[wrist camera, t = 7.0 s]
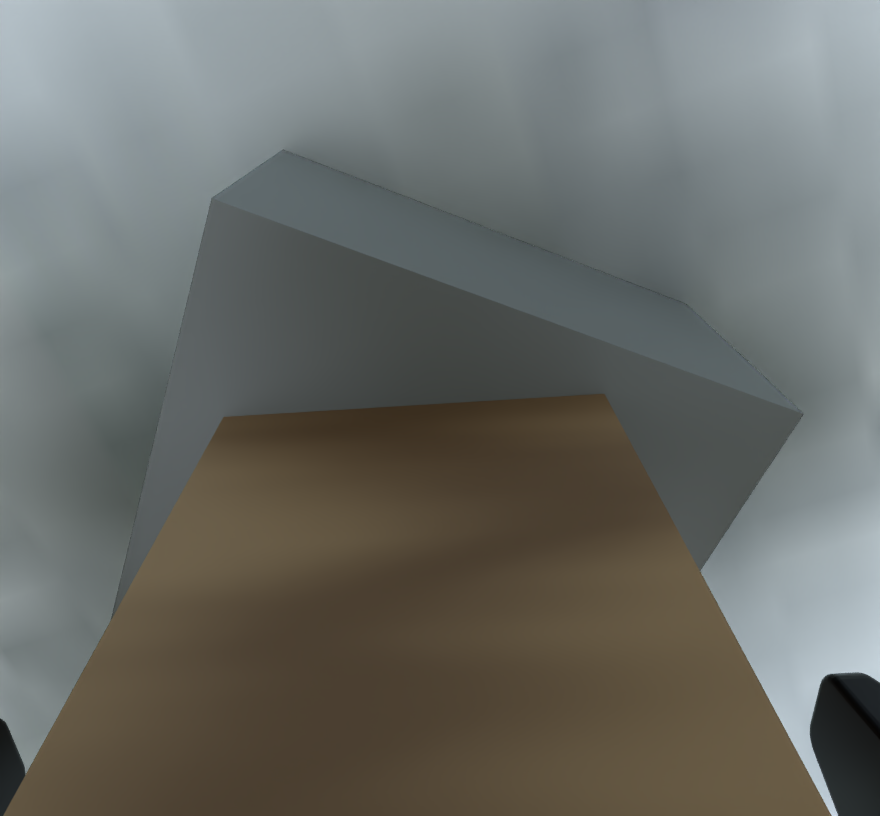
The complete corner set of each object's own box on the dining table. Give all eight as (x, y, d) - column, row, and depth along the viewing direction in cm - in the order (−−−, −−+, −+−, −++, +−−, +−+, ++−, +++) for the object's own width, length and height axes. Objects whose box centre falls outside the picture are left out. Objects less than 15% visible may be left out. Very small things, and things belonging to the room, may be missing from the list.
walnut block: (604, 394, 10) (843, 837, 4) (591, 675, 12) (736, 1206, 6) (223, 417, 10) (-37, 888, 4) (281, 694, 12) (160, 1238, 6)
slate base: (519, 602, 17) (553, 792, 13) (187, 506, 16) (95, 683, 12) (682, 300, 14) (803, 413, 10) (285, 148, 13) (211, 198, 8)
